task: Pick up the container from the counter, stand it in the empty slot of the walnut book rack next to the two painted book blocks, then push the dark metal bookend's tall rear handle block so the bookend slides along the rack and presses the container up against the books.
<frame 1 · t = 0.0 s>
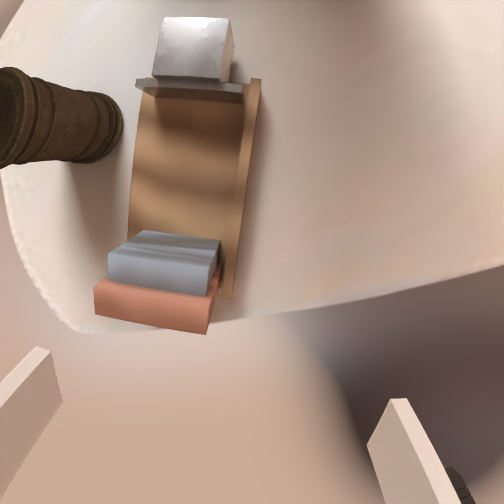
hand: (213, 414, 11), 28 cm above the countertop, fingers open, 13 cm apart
container: (91, 128, 34), on the countertop
rack: (189, 180, 36), on the countertop
bookend: (196, 61, 27), point 5 cm above the countertop, slide at 0.0 cm
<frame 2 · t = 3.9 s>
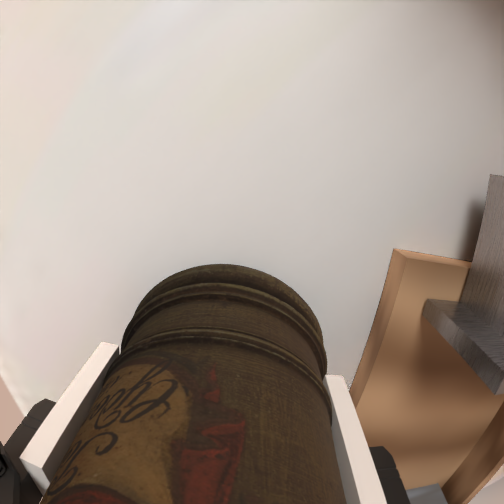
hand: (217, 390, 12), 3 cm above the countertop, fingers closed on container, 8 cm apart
container: (224, 345, 15), on the countertop, touching gripper
rack: (420, 427, 17), on the countertop
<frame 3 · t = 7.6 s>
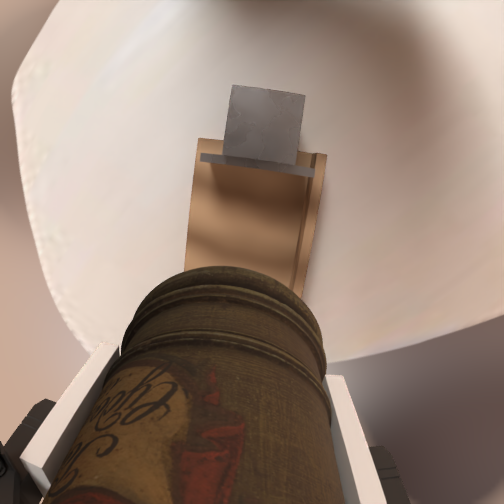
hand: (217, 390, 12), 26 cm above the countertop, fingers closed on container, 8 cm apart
container: (224, 346, 15), point 22 cm above the countertop, touching gripper
rack: (245, 247, 37), on the countertop
bookend: (262, 132, 29), point 5 cm above the countertop, slide at 0.0 cm
when the fingers open (6 cm above the countertop, at t = 11.5 s): container drops 1 cm, resting on rack.
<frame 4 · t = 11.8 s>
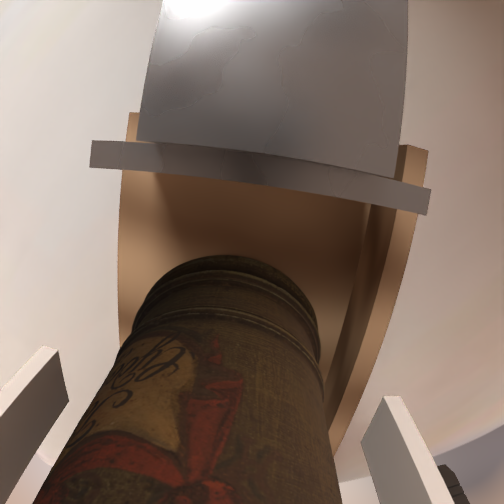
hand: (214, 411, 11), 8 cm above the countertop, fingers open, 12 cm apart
container: (226, 331, 17), point 1 cm above the countertop, touching rack
rack: (235, 335, 18), on the countertop
bookend: (273, 82, 10), point 5 cm above the countertop, slide at 0.0 cm
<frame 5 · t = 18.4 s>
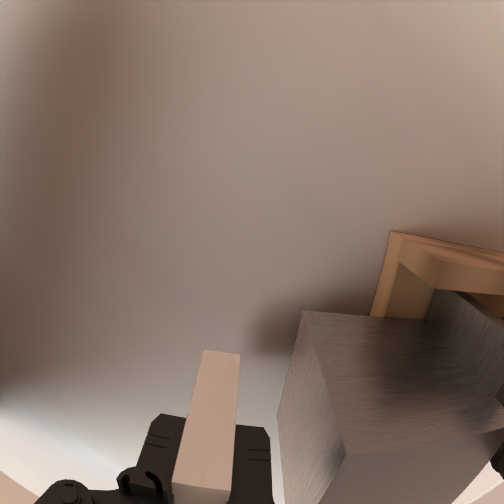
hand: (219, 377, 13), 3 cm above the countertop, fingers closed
container: (500, 368, 15), point 1 cm above the countertop, touching rack
rack: (501, 351, 16), on the countertop
bookend: (382, 425, 10), point 5 cm above the countertop, slide at 0.6 cm, touching gripper
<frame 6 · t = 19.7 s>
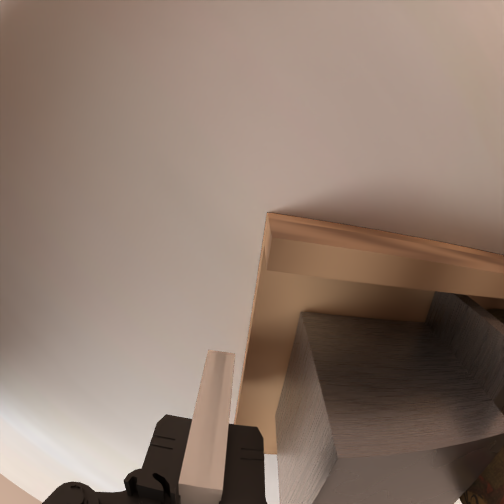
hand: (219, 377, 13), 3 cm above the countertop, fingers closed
container: (469, 375, 15), point 1 cm above the countertop, touching bookend, rack
rack: (444, 357, 16), on the countertop
bookend: (379, 429, 10), point 5 cm above the countertop, slide at 6.3 cm, touching container, gripper
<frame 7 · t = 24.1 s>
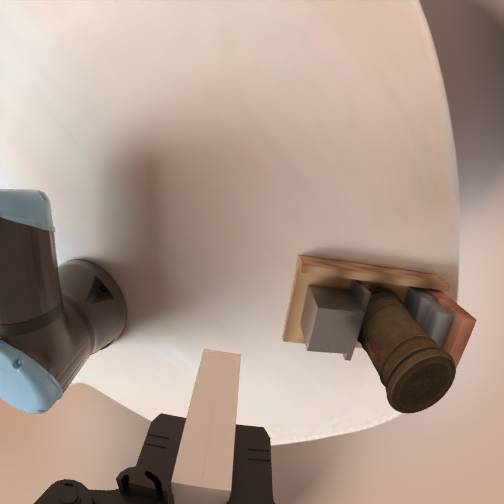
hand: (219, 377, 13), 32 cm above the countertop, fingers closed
container: (374, 313, 46), point 1 cm above the countertop, touching rack
rack: (363, 306, 47), on the countertop
bookend: (332, 318, 42), point 5 cm above the countertop, slide at 6.2 cm
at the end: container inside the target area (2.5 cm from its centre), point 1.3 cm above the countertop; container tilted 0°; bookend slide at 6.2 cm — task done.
